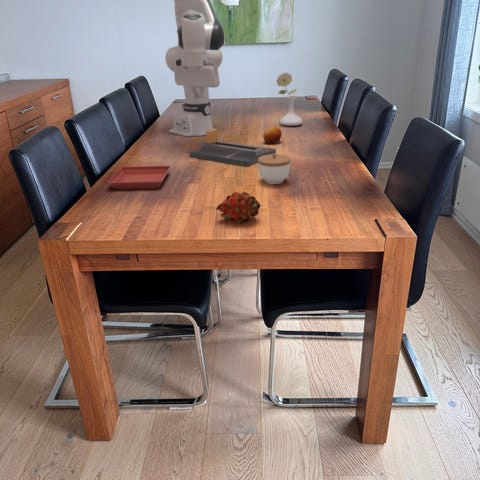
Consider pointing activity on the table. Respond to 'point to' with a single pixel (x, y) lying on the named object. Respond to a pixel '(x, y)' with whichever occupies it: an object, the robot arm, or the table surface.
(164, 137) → the table surface
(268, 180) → the lidded jar
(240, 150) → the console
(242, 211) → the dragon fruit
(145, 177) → the plant saucer
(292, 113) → the flower in vase
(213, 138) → the block
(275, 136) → the fruit
